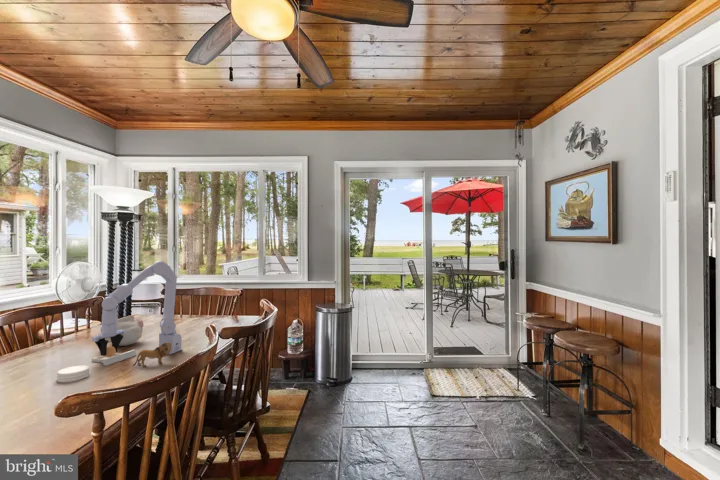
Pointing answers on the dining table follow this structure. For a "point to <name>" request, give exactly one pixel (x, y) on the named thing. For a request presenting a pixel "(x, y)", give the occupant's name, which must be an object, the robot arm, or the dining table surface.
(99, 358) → the tray
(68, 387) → the dining table surface
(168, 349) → the lion figurine
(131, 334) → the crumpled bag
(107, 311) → the robot arm
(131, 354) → the white picture ledge
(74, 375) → the coaster
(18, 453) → the dining table surface
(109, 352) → the ball
